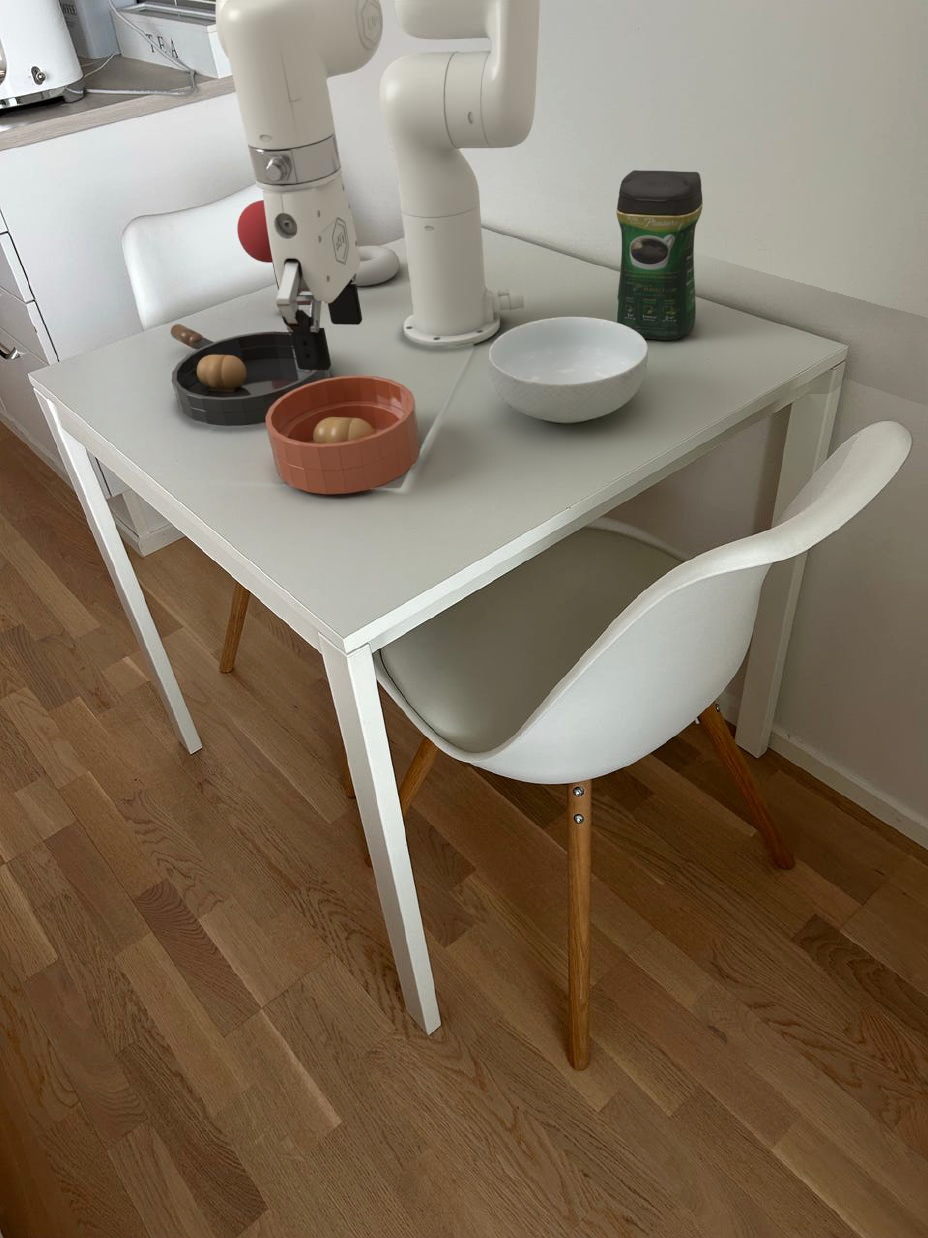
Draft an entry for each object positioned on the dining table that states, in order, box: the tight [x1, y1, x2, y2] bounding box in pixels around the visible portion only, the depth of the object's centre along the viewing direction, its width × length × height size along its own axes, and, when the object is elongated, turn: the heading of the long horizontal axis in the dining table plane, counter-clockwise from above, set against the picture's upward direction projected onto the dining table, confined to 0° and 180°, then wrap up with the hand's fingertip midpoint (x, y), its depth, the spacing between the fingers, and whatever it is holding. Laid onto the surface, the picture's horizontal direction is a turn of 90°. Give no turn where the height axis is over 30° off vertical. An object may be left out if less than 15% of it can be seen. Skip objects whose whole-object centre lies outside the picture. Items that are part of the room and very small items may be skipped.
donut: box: [351, 245, 401, 287], centre depth 143 cm, size 10×4×10 cm
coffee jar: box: [615, 169, 704, 340], centre depth 115 cm, size 10×8×19 cm
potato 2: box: [313, 417, 375, 444], centre depth 101 cm, size 7×4×4 cm, turn 77°
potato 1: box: [197, 355, 246, 392], centre depth 116 cm, size 6×4×4 cm, turn 77°
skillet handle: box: [170, 323, 215, 350], centre depth 123 cm, size 10×2×2 cm, turn 42°
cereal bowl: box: [488, 316, 649, 424], centre depth 105 cm, size 17×17×7 cm
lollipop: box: [236, 199, 279, 291], centre depth 131 cm, size 8×8×15 cm
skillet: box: [171, 331, 332, 427], centre depth 115 cm, size 18×18×4 cm
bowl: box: [265, 374, 421, 495], centre depth 100 cm, size 15×15×6 cm
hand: (331, 345), depth 95 cm, fingers open, 9 cm apart
